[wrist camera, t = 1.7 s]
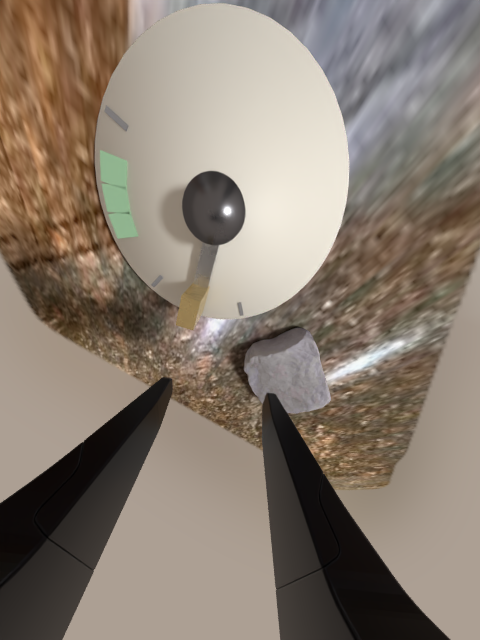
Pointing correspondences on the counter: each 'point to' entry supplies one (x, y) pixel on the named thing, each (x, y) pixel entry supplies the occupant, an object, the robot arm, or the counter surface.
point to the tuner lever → (208, 233)
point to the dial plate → (222, 155)
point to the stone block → (288, 371)
